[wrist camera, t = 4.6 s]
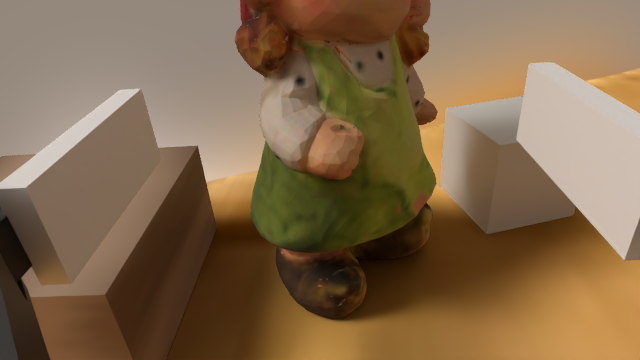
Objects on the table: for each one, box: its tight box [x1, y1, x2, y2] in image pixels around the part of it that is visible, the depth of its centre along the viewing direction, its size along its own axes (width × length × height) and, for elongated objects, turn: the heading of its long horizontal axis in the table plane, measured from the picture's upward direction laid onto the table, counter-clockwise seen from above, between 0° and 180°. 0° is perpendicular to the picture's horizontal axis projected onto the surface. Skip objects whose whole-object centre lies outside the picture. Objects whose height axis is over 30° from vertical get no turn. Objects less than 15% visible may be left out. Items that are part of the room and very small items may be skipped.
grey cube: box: [440, 96, 576, 234], centre depth 28 cm, size 6×6×6 cm
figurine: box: [235, 0, 437, 318], centre depth 20 cm, size 11×9×20 cm
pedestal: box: [0, 146, 217, 360], centre depth 22 cm, size 12×12×6 cm
